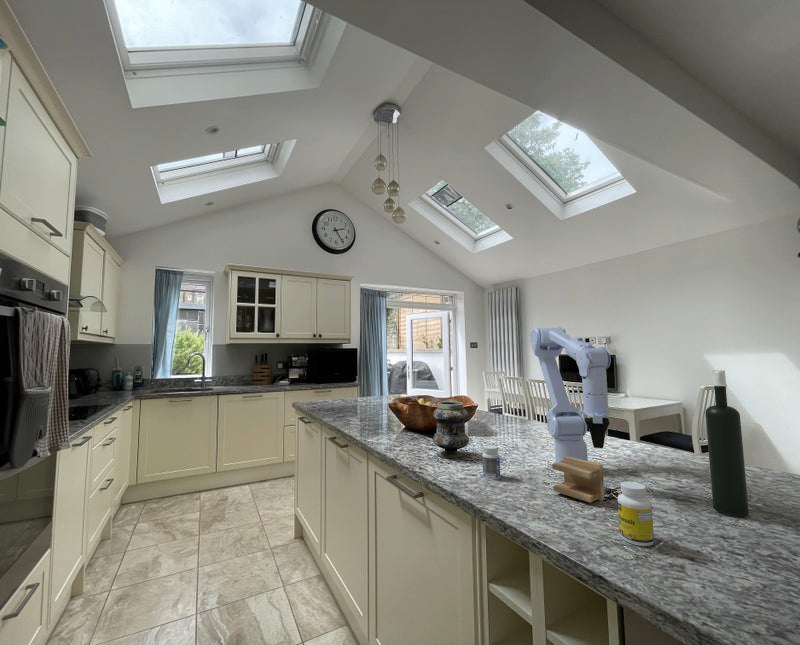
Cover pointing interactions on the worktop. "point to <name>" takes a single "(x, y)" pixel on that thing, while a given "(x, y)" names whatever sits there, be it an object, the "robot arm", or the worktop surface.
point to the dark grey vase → (450, 429)
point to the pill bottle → (491, 462)
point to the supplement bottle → (635, 514)
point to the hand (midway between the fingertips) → (598, 447)
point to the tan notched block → (580, 479)
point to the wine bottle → (726, 453)
